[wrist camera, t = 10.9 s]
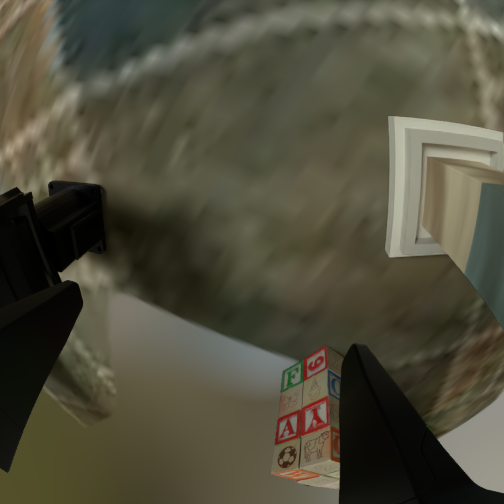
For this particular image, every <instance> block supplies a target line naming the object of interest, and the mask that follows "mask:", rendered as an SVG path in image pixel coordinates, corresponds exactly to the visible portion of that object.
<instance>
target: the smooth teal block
mask: <svg viewBox="0 0 504 504" xmlns="http://www.w3.org/2000/svg"><path fill="white" fill-rule="evenodd" d="M422 226H423V227H424V228H425V229H426V231H427V232H428V233H429V234H430V235H431V236H432V237H433V238H434V239H435V240H436V242H437V243H438V244H439V245H440V246H441V247H442V248H443V249H444V251H445V252H446V253H447V254H448V255H449V256H450V258H451V259H452V260H453V261H454V262H455V264H456V265H457V266H458V267H459V269H460V270H461V271H462V272H463V274H464V275H465V276H466V277H467V279H468V280H469V281H470V283H471V284H472V285H473V287H474V288H475V289H476V291H477V292H478V293H479V295H480V296H481V297H482V299H483V300H484V302H485V303H486V304H487V306H488V307H489V309H490V310H491V312H492V313H493V315H494V316H495V318H496V319H497V321H498V322H499V324H500V325H501V327H502V328H503V330H504V172H502V171H500V170H498V169H496V168H493V167H491V166H489V165H487V164H484V163H482V162H478V161H470V160H462V159H452V158H442V157H430V156H427V169H426V187H425V199H424V209H423V218H422Z"/></svg>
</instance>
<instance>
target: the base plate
mask: <svg viewBox="0 0 504 504" xmlns="http://www.w3.org/2000/svg"><path fill="white" fill-rule="evenodd" d="M388 123H389V152H390V175H389V205H388V221H387V234H386V244H385V251H386V252H387V254H388V256H389V257H406V256H423V255H439V254H447V253H446V252H445V251H444V249H443V248H442V247H441V246H440V245H439V244H438V243H437V242H436V240H435V239H434V238H433V237H432V236H431V235H430V234H429V233H428V232H427V231H426V229H425V228H424V227H423V226H422V218H423V209H424V199H425V187H426V169H427V156H430V157H442V158H452V159H462V160H470V161H478V162H482V163H484V164H487V165H489V166H491V167H493V168H496V169H498V170H500V171H502V172H503V171H504V142H503V133H502V132H498V131H494V130H490V129H485V128H480V127H475V126H470V125H464V124H458V123H452V122H445V121H437V120H429V119H420V118H409V117H396V116H388Z"/></svg>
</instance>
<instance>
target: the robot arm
mask: <svg viewBox="0 0 504 504" xmlns="http://www.w3.org/2000/svg"><path fill="white" fill-rule="evenodd" d="M48 188H49V197H47V198H45V199H44V200H42V201H40V202H38V203H36V204H35V205H34V203H33V200H32V199H33V196H32V192H28V193H26V194H24V193H23V192H21V191H20V190H19V189H18V188H17V187H16V188H13V189H11V190H9V191H7V192H5V193H3V194H2V195H0V468H1V469H2V470H4V471H5V472H7V473H8V472H9V470H10V467H11V464H12V461H13V457H14V455H15V452H16V449H17V446H18V444H19V441H20V438H21V436H22V433H23V430H24V428H25V426H26V423H27V421H28V418H29V416H30V414H31V411H32V409H33V407H34V405H35V403H36V400H37V398H38V396H39V394H40V392H41V390H42V388H43V386H44V384H45V382H46V380H47V378H48V376H49V374H50V372H51V370H52V368H53V366H54V364H55V362H56V360H57V358H58V356H59V355H60V353H61V351H62V349H63V347H64V346H65V344H66V342H67V340H68V337H69V335H70V333H71V331H72V329H73V326H74V324H75V322H76V320H77V318H78V316H79V314H80V312H81V310H82V307H83V299H82V295H81V292H80V288H79V285H78V284H77V283H76V282H73V281H70V280H67V281H64V282H62V280H61V278H60V276H59V273H58V272H63V271H64V270H65V269H66V268H67V267H68V266H69V265H70V264H71V263H73V262H74V261H75V260H79V259H80V258H81V257H82V256H83V255H84V254H85V253H87V252H88V251H90V252H94V253H98V254H103V253H104V252H105V250H106V246H105V237H104V227H103V217H102V205H101V190H100V187H99V186H98V185H96V184H87V183H77V182H66V181H51V182H49V184H48ZM94 189H95V191H96V193H95V192H94ZM100 248H101V249H100ZM426 426H427V425H426V424H425V422H424V421H423V419H422V418H421V417H420V415H419V414H418V413H417V411H416V410H415V409H414V407H413V406H412V405H411V403H410V402H409V401H408V399H407V398H406V397H405V395H404V394H403V393H402V391H401V390H400V389H399V387H398V386H397V385H396V383H395V382H394V381H393V379H392V378H391V377H390V376H389V374H388V373H387V372H386V370H385V369H384V368H383V366H382V365H381V364H380V363H379V361H378V360H377V359H376V357H375V356H374V355H373V354H372V352H371V351H370V350H369V348H368V347H367V346H366V345H364V344H352V345H351V347H350V349H349V350H348V352H347V354H346V356H345V358H344V359H343V362H342V366H341V382H340V398H339V440H340V479H339V504H504V493H500V492H496V491H491V490H487V489H484V488H482V487H480V486H478V485H477V484H476V483H474V482H473V481H472V480H471V479H470V478H469V476H468V475H467V474H466V473H465V472H464V471H463V470H462V469H461V467H460V466H459V465H458V464H457V463H456V462H455V460H454V459H453V458H452V457H451V456H450V455H449V453H448V452H447V451H446V450H445V449H444V448H443V446H442V445H441V444H440V442H439V441H438V440H437V438H436V437H435V436H434V434H433V433H432V432H431V430H430V429H429V427H426Z"/></svg>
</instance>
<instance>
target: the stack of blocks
mask: <svg viewBox="0 0 504 504" xmlns="http://www.w3.org/2000/svg"><path fill="white" fill-rule="evenodd" d="M343 359H344V358H343V357H341V356H340V355H339V354H337V353H336V352H335V351H333V350H332V349H331V348H329V347H328V346H325V347H323V348H322V349H320V350H318V351H317V352H315V353H313V354H312V355H310V356H309V357H307V358H305V359H304V360H303V361H301V362H298V363H296V364H295V365H293V366H291V367H289V368H287V369H286V370H284V371H283V374H282V383H281V399H280V407H279V419H278V421H277V428H276V438H275V451H274V457H273V464H272V470H271V474H273V475H276V476H280V477H284V478H288V479H291V480H296V482H297V483H301V484H306V485H311V486H320V487H327V488H336V489H339V479H340V440H339V398H340V382H341V366H342V362H343Z"/></svg>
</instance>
